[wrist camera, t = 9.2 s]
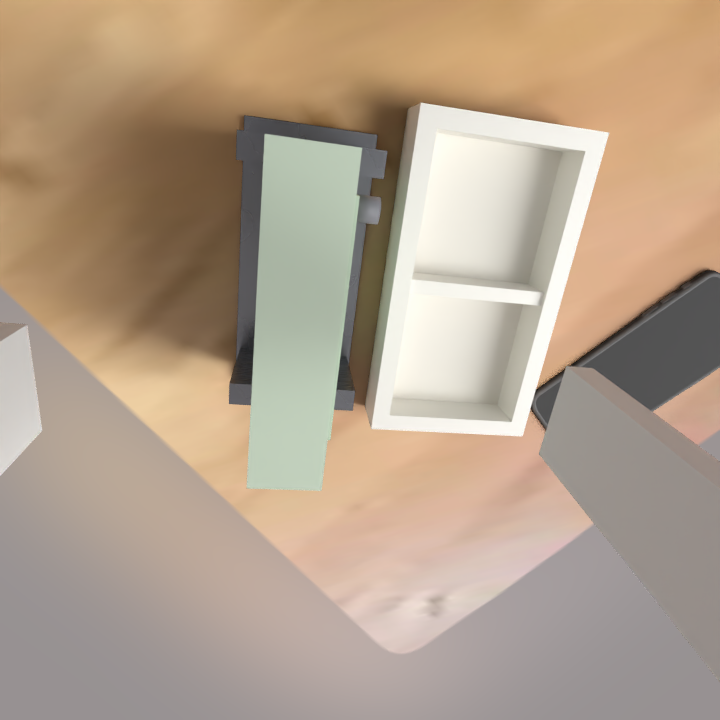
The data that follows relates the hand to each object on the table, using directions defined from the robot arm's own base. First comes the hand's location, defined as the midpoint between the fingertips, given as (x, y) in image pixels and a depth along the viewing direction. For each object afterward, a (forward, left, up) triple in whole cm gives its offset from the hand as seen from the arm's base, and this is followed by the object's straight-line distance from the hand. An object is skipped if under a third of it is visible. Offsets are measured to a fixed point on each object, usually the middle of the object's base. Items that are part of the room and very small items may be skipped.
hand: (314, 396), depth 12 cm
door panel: (0, 0, -17) cm, 17 cm away
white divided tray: (0, +10, -18) cm, 20 cm away
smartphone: (+5, +24, -18) cm, 31 cm away
